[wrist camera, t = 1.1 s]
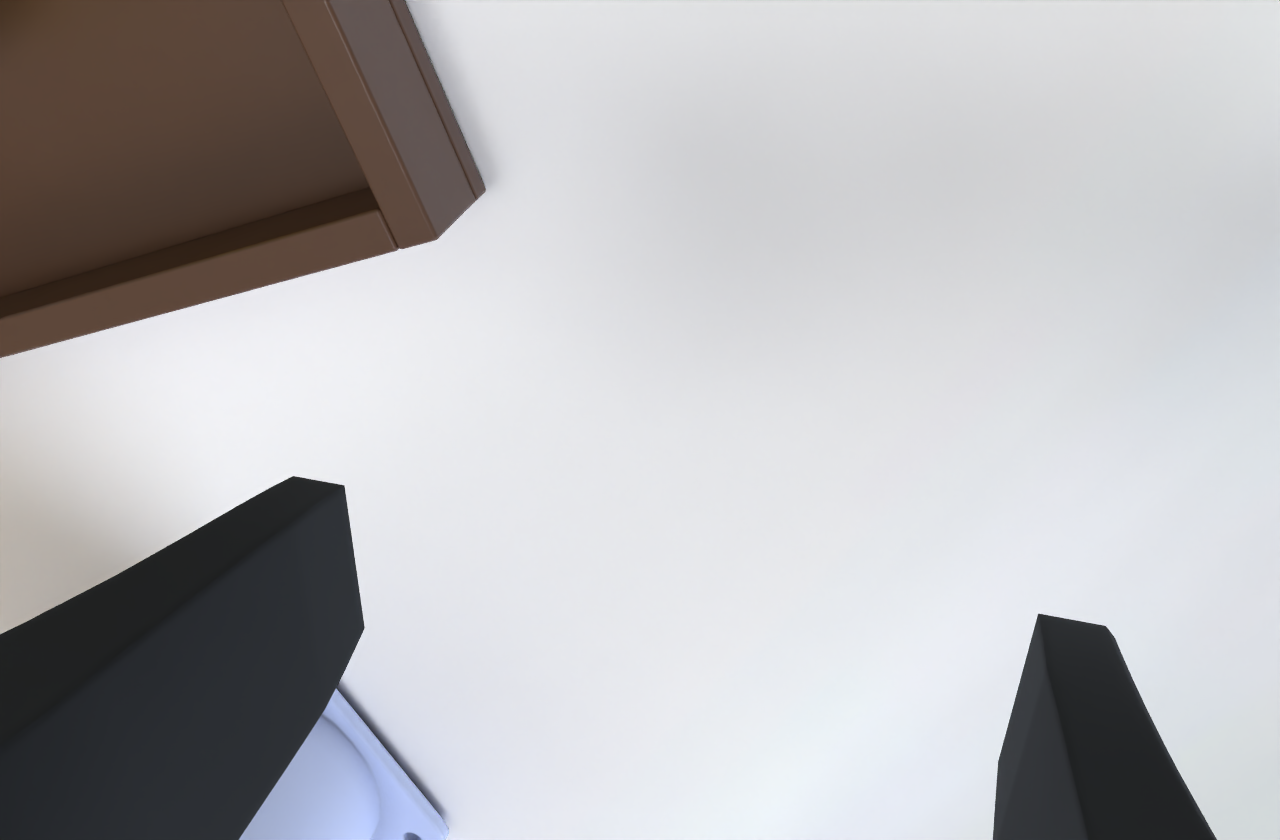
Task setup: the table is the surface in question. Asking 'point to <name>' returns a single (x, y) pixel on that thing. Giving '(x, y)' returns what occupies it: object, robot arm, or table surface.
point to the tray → (209, 153)
